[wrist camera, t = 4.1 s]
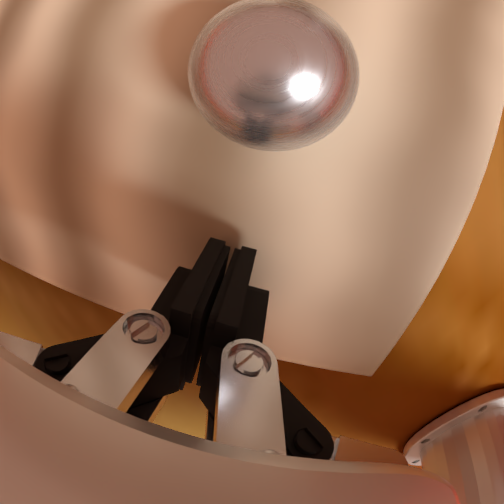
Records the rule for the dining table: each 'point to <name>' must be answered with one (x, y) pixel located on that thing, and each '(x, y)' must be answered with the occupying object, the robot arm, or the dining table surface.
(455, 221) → the maple board
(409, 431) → the dining table surface
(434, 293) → the dining table surface
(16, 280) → the dining table surface
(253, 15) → the steel ball
